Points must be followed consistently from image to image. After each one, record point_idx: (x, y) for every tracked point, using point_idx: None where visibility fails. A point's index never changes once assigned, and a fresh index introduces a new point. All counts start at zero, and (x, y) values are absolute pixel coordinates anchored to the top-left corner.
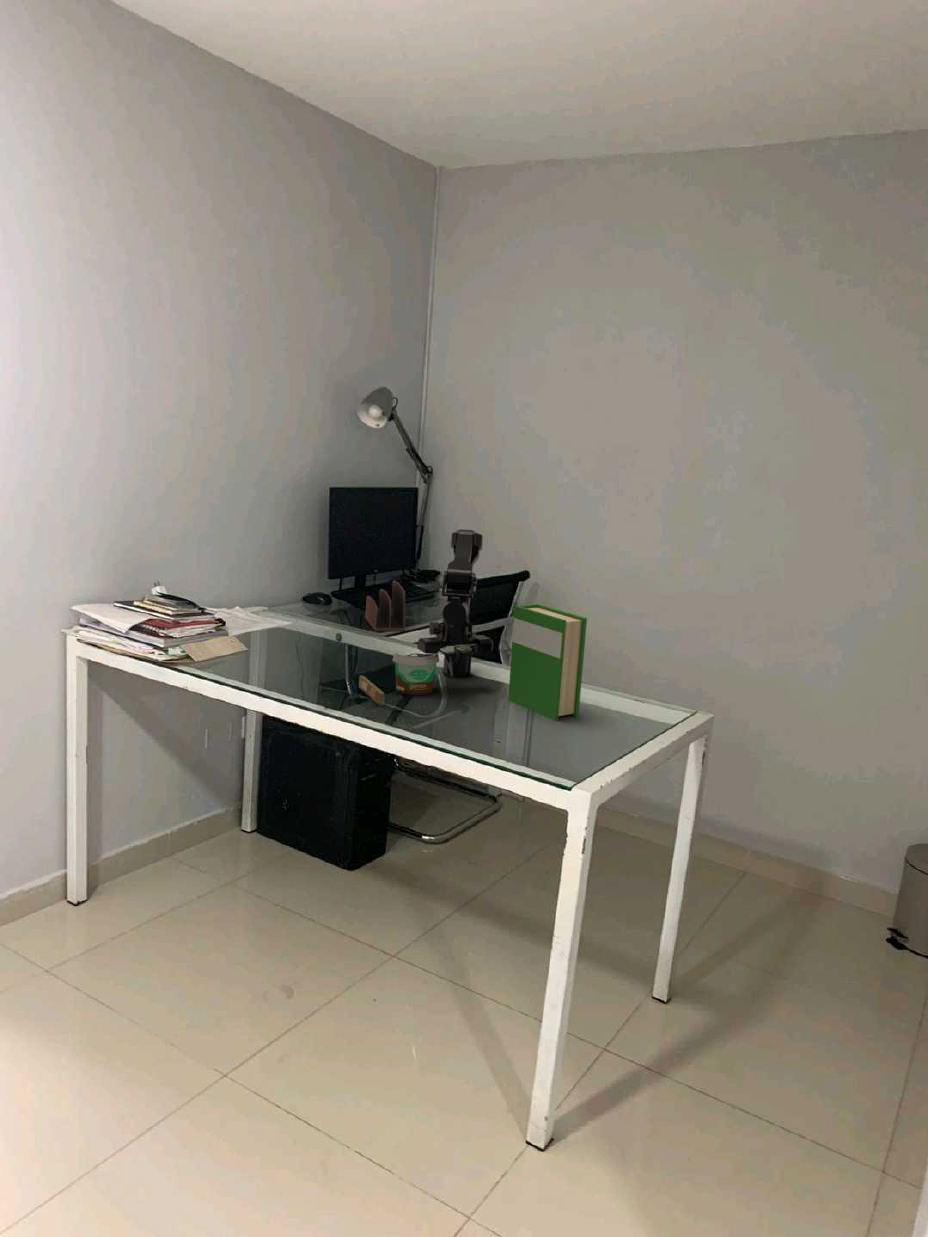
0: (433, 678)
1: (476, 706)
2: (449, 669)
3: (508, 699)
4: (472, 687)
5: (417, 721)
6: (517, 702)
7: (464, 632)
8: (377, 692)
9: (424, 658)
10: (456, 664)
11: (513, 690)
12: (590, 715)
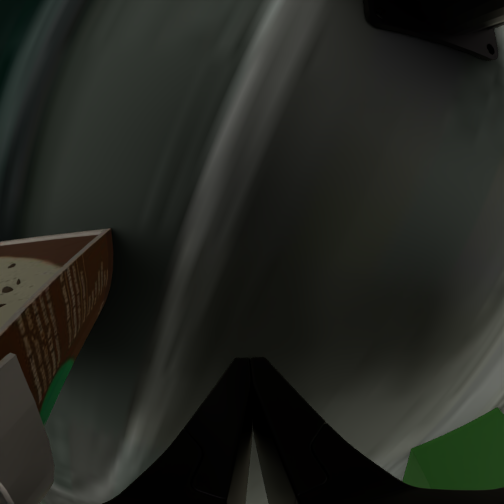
0: (73, 363)
1: (254, 493)
2: (211, 396)
3: (412, 451)
4: (402, 270)
5: (53, 500)
6: (406, 478)
7: None
8: None
9: None
10: (269, 485)
11: None
12: None
